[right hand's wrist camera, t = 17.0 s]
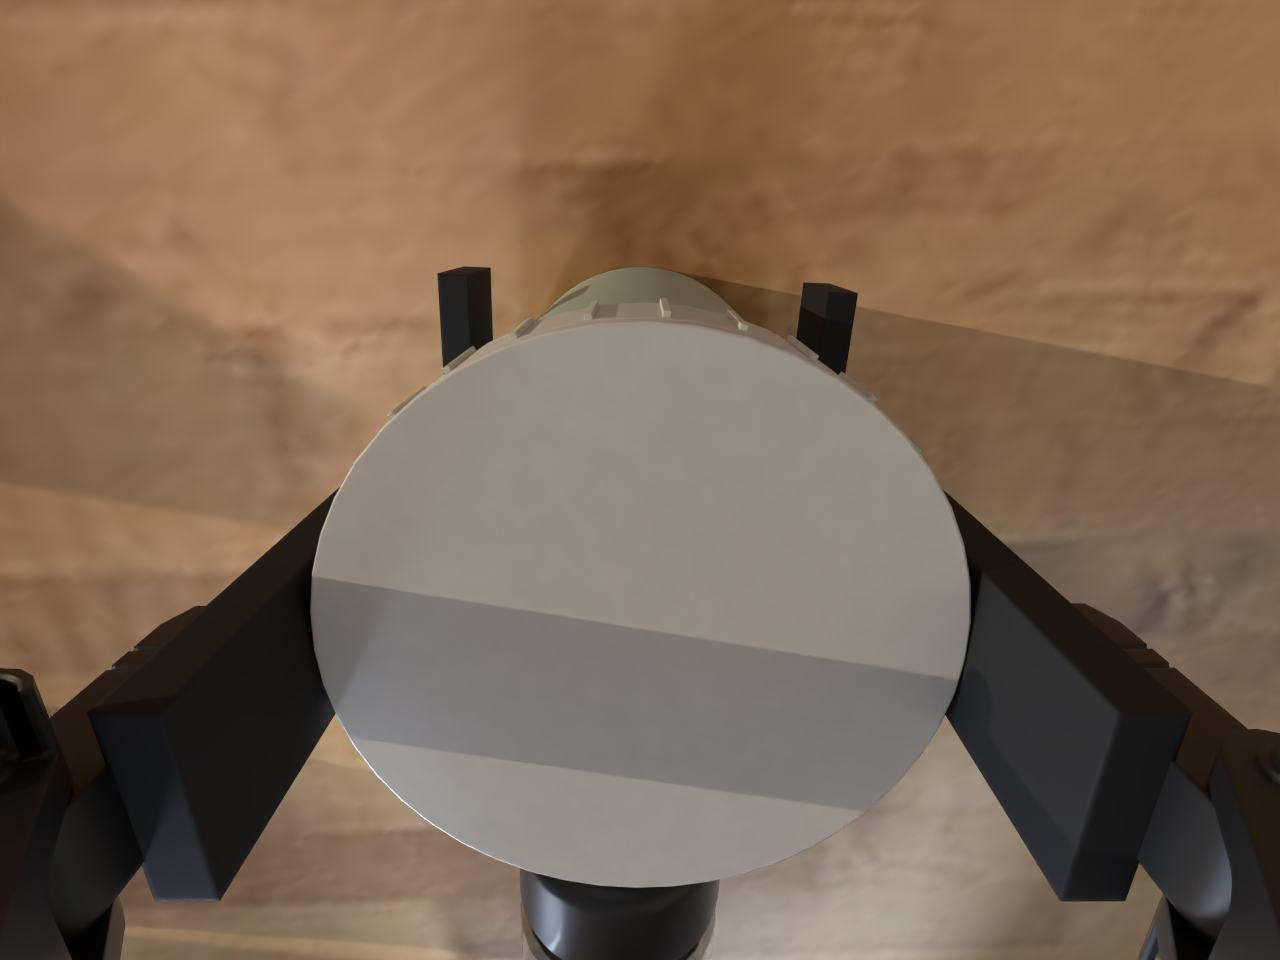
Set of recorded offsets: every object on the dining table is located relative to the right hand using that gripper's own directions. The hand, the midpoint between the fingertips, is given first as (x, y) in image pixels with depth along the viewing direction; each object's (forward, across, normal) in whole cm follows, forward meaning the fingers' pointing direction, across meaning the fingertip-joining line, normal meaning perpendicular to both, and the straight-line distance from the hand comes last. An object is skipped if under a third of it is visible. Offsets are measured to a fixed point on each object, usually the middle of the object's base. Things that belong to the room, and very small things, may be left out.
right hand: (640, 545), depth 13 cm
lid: (-3, 0, 0) cm, 3 cm away
